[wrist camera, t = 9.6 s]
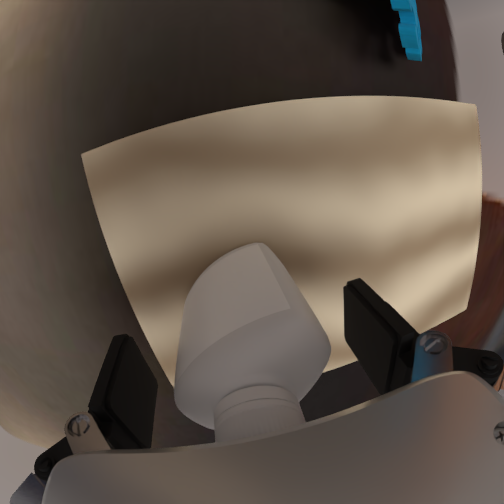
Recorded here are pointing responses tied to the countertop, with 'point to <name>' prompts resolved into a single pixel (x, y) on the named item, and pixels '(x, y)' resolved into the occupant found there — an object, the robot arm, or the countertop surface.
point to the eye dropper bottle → (247, 347)
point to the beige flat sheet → (298, 206)
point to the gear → (409, 28)
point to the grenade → (503, 42)
